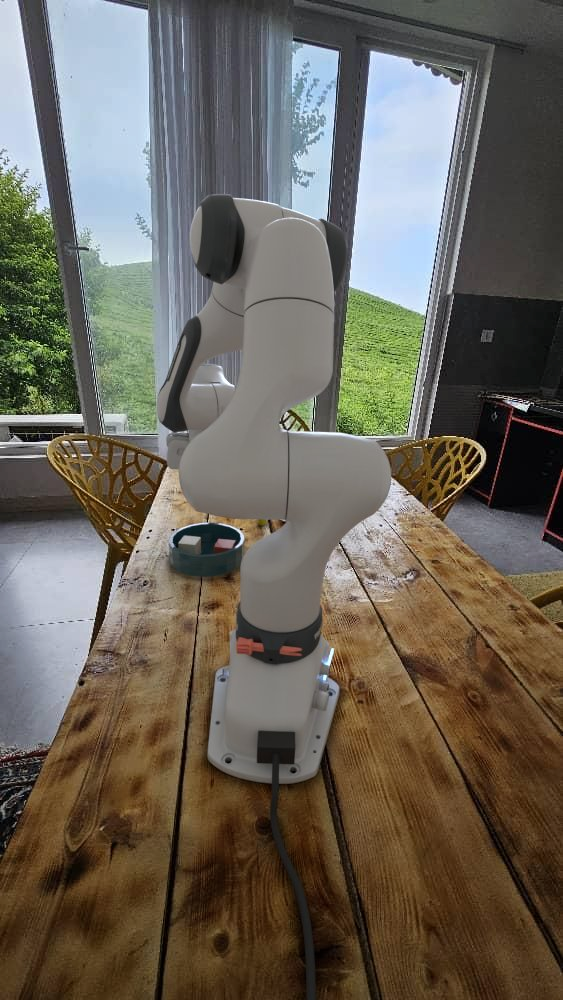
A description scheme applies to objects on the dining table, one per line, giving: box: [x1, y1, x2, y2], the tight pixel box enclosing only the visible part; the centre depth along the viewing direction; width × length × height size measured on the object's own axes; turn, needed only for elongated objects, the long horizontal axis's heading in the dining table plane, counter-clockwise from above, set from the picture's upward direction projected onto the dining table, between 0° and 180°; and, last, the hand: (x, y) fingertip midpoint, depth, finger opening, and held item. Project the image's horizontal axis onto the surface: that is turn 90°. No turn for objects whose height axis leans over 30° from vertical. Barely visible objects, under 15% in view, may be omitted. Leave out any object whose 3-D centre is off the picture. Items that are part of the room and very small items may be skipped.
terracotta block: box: [214, 539, 236, 554], centre depth 100 cm, size 4×4×4 cm
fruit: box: [256, 519, 268, 527], centre depth 120 cm, size 10×2×5 cm, turn 173°
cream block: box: [178, 536, 201, 555], centre depth 101 cm, size 4×4×4 cm
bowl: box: [168, 522, 246, 578], centre depth 101 cm, size 17×17×6 cm
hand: (208, 487), depth 112 cm, fingers closed
